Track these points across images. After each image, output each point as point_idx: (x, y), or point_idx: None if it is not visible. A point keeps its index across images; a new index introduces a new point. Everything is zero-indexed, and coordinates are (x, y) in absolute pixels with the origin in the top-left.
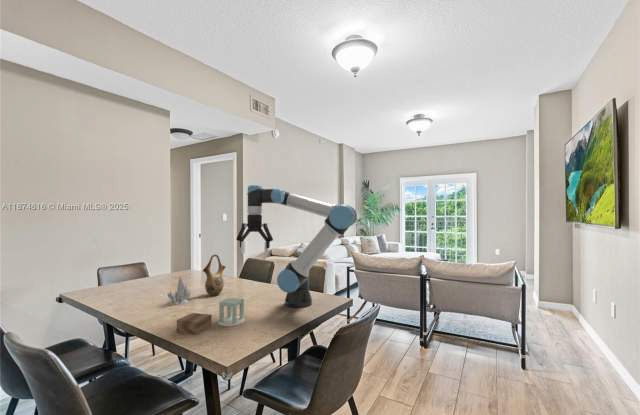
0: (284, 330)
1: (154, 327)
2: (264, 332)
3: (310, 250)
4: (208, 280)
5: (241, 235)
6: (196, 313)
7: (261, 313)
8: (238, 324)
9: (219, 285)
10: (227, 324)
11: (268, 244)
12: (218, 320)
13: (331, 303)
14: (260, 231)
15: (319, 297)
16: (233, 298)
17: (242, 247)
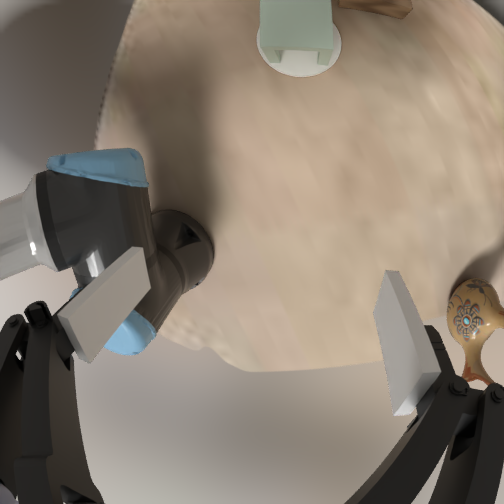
0: (131, 43)
1: (464, 8)
2: (170, 13)
3: None
4: (495, 300)
5: (451, 471)
6: (396, 3)
7: (241, 130)
8: None
9: (459, 305)
10: None
11: (62, 307)
12: (337, 30)
13: None
14: (26, 457)
15: None
16: (306, 42)
17: (402, 316)
